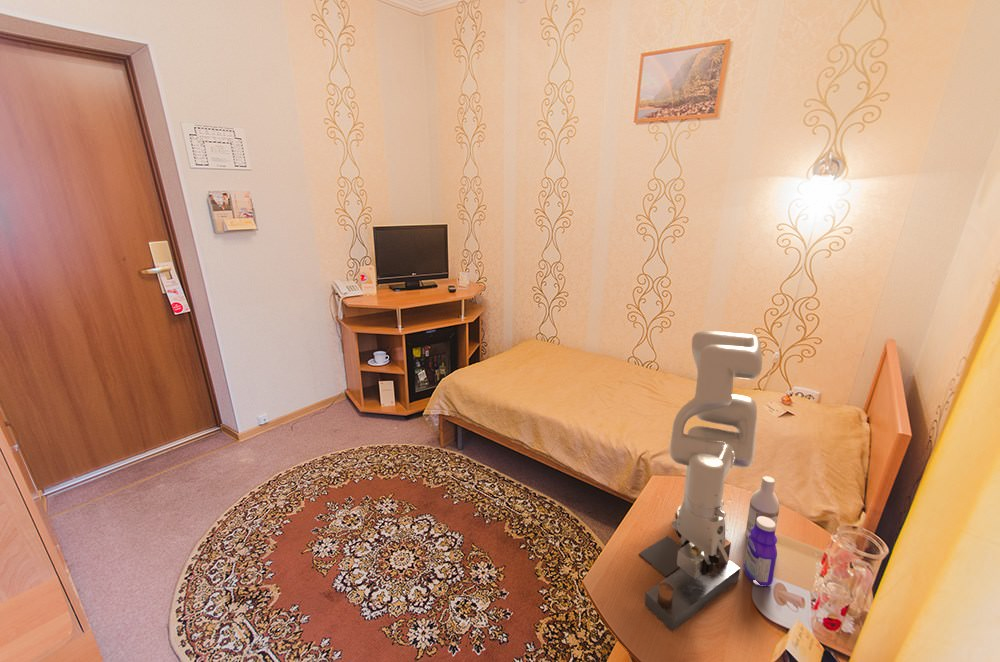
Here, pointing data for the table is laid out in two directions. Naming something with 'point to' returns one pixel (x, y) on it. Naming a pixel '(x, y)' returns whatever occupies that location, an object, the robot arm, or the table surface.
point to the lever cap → (691, 559)
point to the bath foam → (763, 504)
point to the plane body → (689, 592)
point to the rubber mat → (663, 555)
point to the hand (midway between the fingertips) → (695, 563)
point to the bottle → (761, 552)
